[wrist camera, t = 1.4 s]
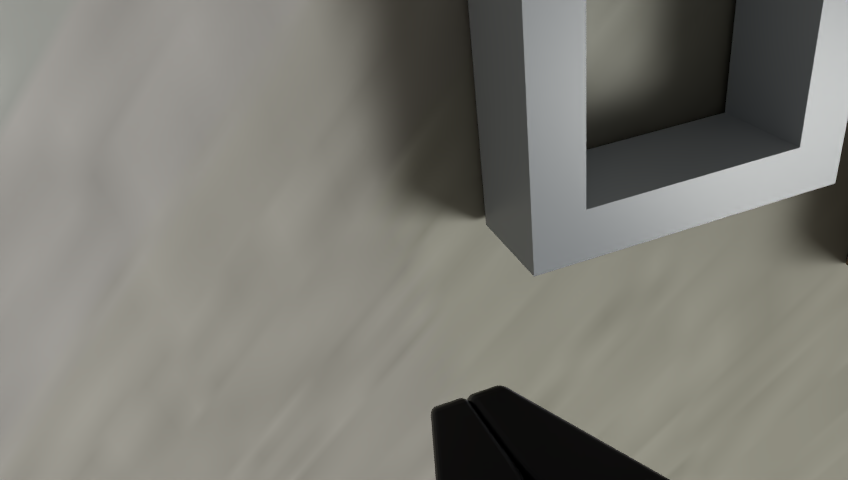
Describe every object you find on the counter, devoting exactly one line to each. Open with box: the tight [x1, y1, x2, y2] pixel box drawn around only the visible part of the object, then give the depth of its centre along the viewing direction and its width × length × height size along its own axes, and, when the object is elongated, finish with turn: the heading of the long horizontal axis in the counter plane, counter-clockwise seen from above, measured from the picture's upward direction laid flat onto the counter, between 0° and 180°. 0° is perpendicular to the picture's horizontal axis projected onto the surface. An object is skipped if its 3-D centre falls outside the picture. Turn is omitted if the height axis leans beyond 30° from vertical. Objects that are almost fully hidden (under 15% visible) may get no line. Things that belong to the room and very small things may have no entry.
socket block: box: [468, 0, 848, 276], centre depth 19 cm, size 10×10×3 cm
